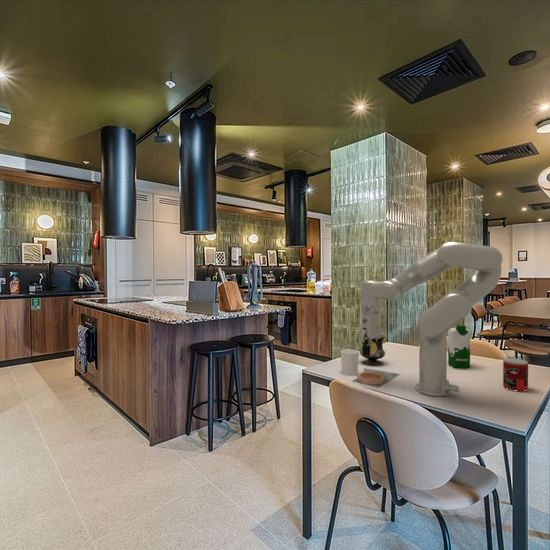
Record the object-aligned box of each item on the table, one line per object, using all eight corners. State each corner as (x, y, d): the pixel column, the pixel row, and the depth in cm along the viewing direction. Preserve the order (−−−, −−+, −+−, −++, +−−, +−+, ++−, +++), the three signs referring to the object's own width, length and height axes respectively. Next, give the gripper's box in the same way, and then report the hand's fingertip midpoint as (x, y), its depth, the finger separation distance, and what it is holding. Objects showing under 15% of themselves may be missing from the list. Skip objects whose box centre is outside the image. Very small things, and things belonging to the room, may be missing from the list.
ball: (379, 354, 145) (379, 340, 144) (373, 357, 140) (373, 342, 140) (366, 352, 148) (366, 338, 148) (359, 355, 144) (359, 340, 144)
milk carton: (453, 369, 161) (453, 326, 161) (445, 364, 170) (445, 323, 170) (472, 369, 161) (473, 326, 160) (464, 364, 170) (464, 323, 169)
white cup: (359, 376, 151) (359, 354, 151) (340, 375, 153) (340, 353, 153) (358, 371, 159) (358, 349, 159) (340, 370, 161) (340, 349, 160)
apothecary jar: (390, 364, 170) (390, 327, 169) (374, 368, 163) (374, 330, 162) (370, 359, 180) (370, 324, 179) (354, 363, 173) (354, 327, 172)
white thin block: (391, 379, 146) (391, 372, 146) (390, 380, 145) (390, 373, 145) (364, 374, 153) (364, 367, 153) (363, 374, 153) (363, 368, 153)
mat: (399, 374, 153) (399, 374, 153) (379, 388, 137) (379, 387, 137) (374, 369, 161) (374, 369, 161) (351, 382, 144) (351, 381, 144)
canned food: (498, 385, 139) (499, 358, 139) (519, 385, 139) (519, 358, 139) (511, 392, 132) (511, 363, 132) (532, 392, 132) (533, 363, 131)
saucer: (387, 380, 145) (387, 375, 145) (376, 386, 137) (376, 381, 137) (364, 375, 151) (364, 370, 151) (353, 381, 144) (353, 376, 144)
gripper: (369, 313, 135) (369, 359, 135) (387, 309, 148) (386, 351, 148) (352, 311, 139) (351, 356, 140) (370, 307, 153) (370, 348, 153)
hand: (369, 353), depth 144 cm, fingers closed on ball, 5 cm apart
